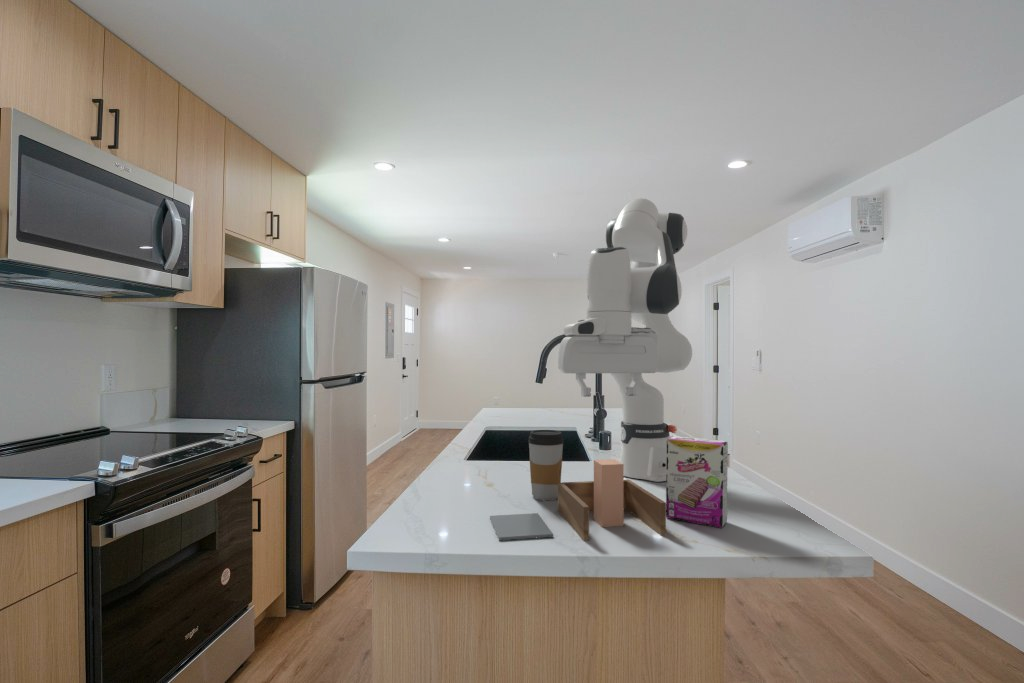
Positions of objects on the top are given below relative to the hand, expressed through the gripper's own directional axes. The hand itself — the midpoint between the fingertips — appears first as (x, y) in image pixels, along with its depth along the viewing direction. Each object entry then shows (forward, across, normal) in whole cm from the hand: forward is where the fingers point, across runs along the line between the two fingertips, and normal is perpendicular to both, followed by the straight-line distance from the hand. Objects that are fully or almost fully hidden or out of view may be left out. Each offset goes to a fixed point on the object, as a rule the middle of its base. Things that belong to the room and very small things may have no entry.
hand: (608, 396), depth 103 cm
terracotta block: (+25, 0, 0) cm, 25 cm away
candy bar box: (+25, -18, +2) cm, 31 cm away
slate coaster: (+25, +18, 0) cm, 31 cm away
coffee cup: (+25, +8, -19) cm, 33 cm away
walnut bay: (+25, 0, 0) cm, 25 cm away
